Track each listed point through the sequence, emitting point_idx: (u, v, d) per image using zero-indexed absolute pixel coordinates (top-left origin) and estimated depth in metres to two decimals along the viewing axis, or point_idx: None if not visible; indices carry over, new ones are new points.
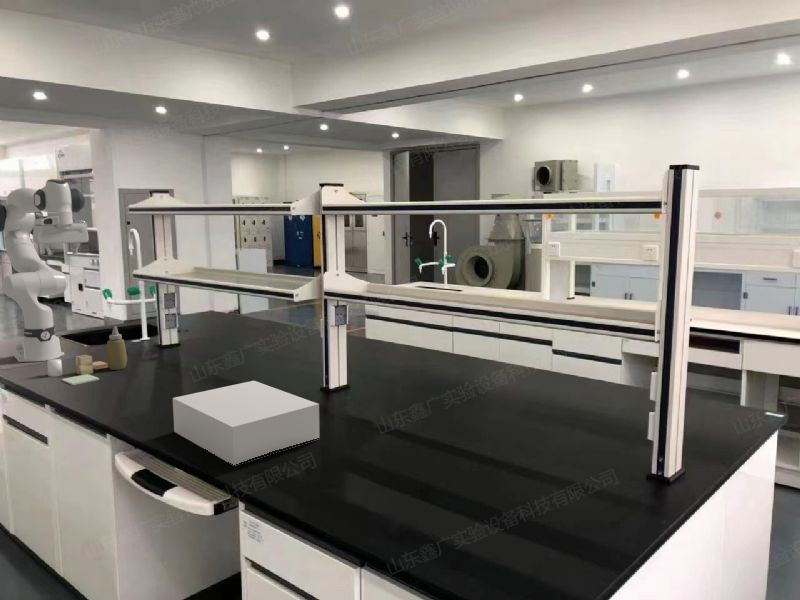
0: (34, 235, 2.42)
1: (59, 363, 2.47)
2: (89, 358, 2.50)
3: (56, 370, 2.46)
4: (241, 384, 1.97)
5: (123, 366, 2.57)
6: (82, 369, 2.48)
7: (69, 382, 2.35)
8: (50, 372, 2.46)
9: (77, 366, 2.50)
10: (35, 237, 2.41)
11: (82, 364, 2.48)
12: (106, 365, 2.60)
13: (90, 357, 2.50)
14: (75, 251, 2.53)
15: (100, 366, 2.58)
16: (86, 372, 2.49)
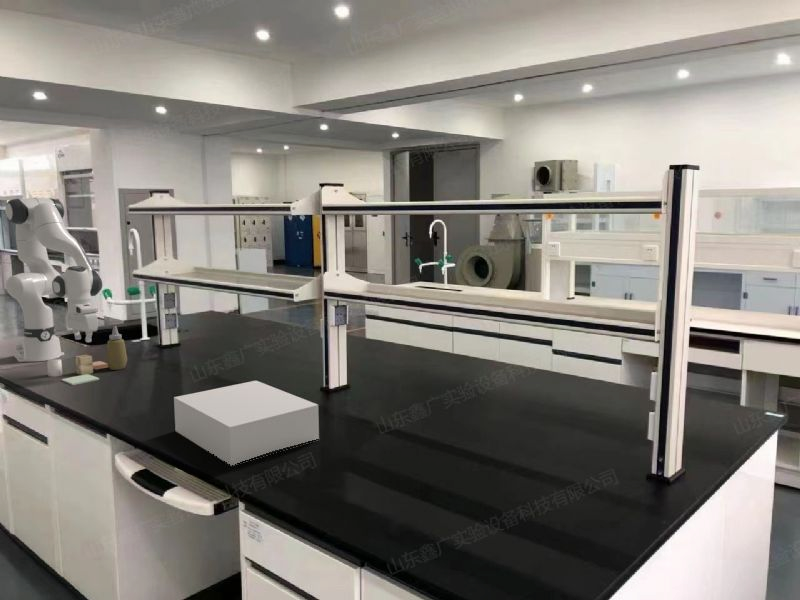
0: (91, 323, 2.41)
1: (59, 363, 2.47)
2: (89, 358, 2.50)
3: (56, 370, 2.46)
4: (243, 384, 1.97)
5: (123, 366, 2.57)
6: (82, 369, 2.48)
7: (69, 382, 2.35)
8: (50, 372, 2.46)
9: (77, 366, 2.50)
10: (94, 325, 2.42)
11: (82, 364, 2.48)
12: (106, 365, 2.60)
13: (90, 357, 2.50)
14: None
15: (100, 366, 2.58)
16: (86, 372, 2.49)
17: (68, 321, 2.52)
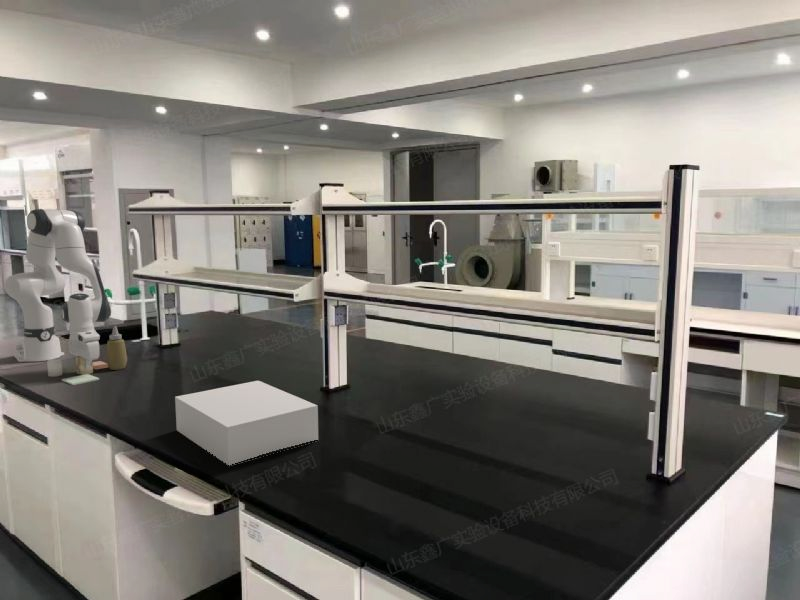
0: (93, 351, 2.43)
1: (59, 363, 2.47)
2: None
3: (56, 370, 2.46)
4: (245, 384, 1.97)
5: (123, 366, 2.57)
6: (82, 369, 2.48)
7: (69, 382, 2.35)
8: (50, 372, 2.46)
9: (77, 366, 2.50)
10: (96, 353, 2.44)
11: (82, 364, 2.48)
12: (106, 365, 2.60)
13: None
14: None
15: (100, 366, 2.58)
16: (86, 372, 2.49)
17: (70, 347, 2.54)
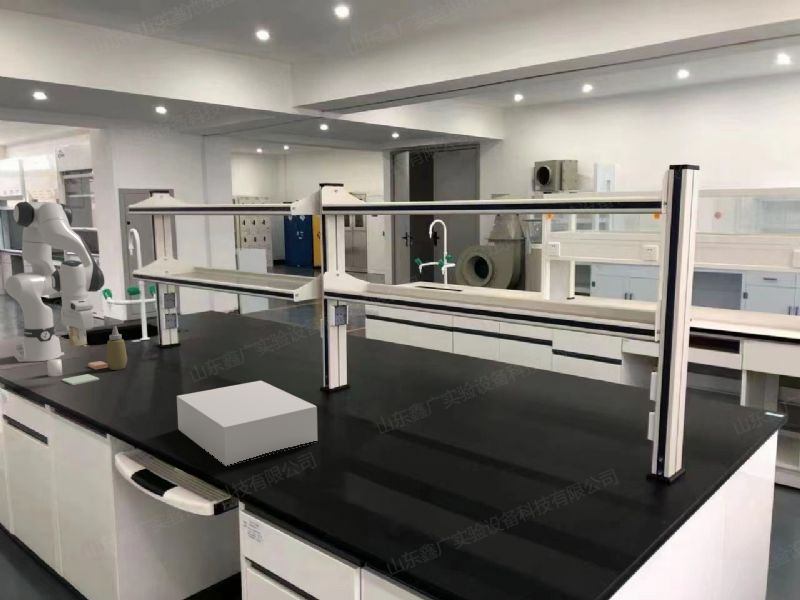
0: (86, 320, 2.30)
1: (59, 363, 2.47)
2: None
3: (56, 370, 2.46)
4: (247, 384, 1.97)
5: (123, 366, 2.57)
6: (75, 339, 2.35)
7: (69, 382, 2.35)
8: (50, 372, 2.46)
9: (70, 337, 2.37)
10: (90, 322, 2.31)
11: (75, 334, 2.35)
12: (106, 365, 2.60)
13: None
14: None
15: (100, 366, 2.58)
16: (79, 343, 2.37)
17: (62, 318, 2.41)
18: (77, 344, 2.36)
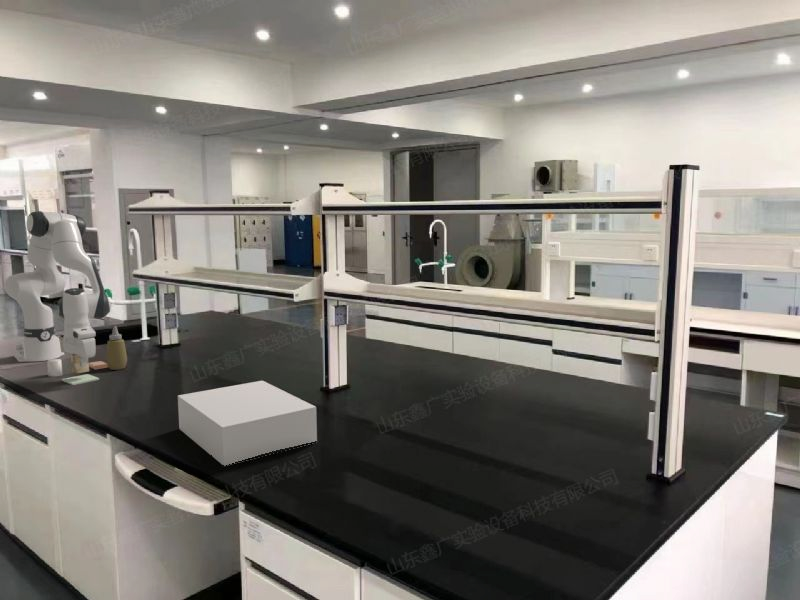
0: (89, 349, 2.32)
1: (59, 363, 2.47)
2: None
3: (56, 370, 2.46)
4: (248, 384, 1.97)
5: (123, 366, 2.57)
6: (78, 367, 2.37)
7: (69, 382, 2.35)
8: (50, 372, 2.46)
9: (73, 364, 2.38)
10: (92, 350, 2.33)
11: (77, 362, 2.36)
12: (106, 365, 2.60)
13: None
14: None
15: (100, 366, 2.58)
16: (82, 370, 2.38)
17: (64, 345, 2.42)
18: (79, 371, 2.37)
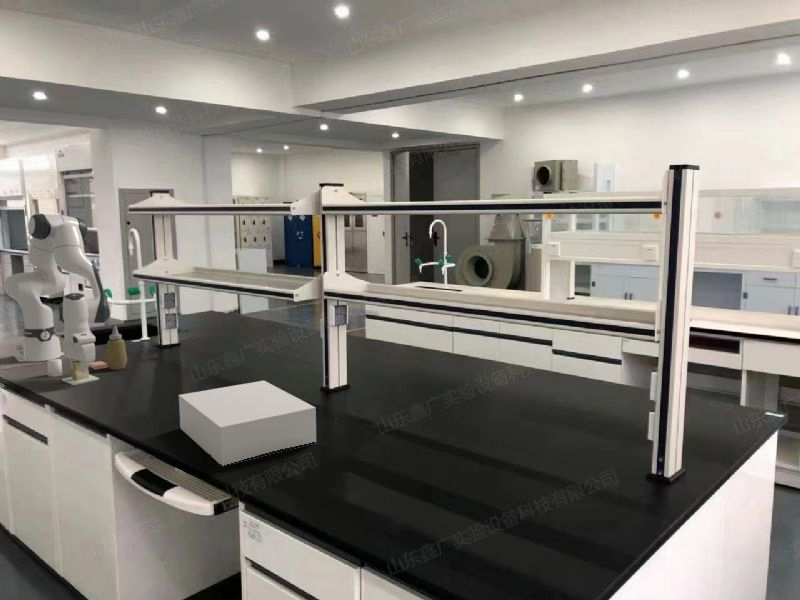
0: (88, 354, 2.32)
1: (59, 363, 2.47)
2: None
3: (56, 370, 2.46)
4: (250, 384, 1.98)
5: (123, 366, 2.57)
6: (78, 374, 2.37)
7: (69, 382, 2.35)
8: (50, 372, 2.46)
9: (73, 371, 2.39)
10: (92, 355, 2.33)
11: (77, 369, 2.37)
12: (106, 365, 2.60)
13: None
14: None
15: (100, 366, 2.58)
16: (82, 378, 2.39)
17: (64, 349, 2.42)
18: (79, 379, 2.38)
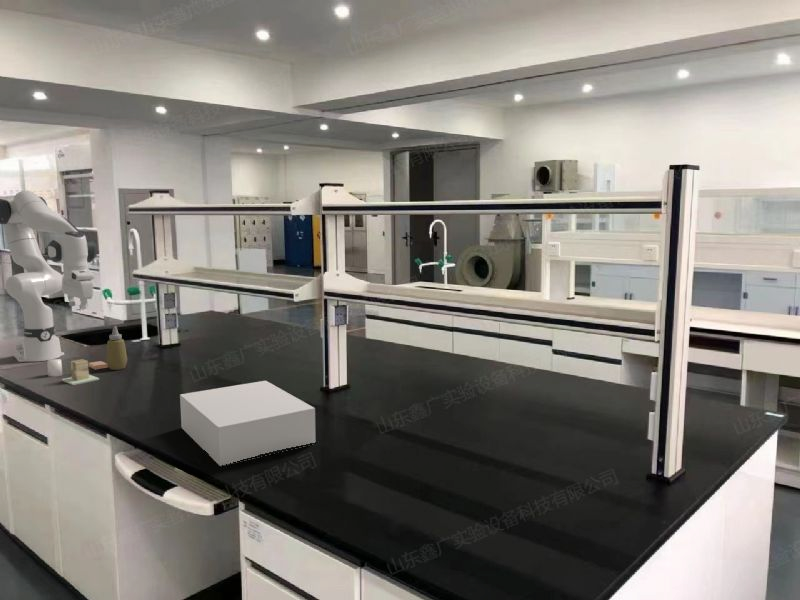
0: (86, 290, 2.37)
1: (59, 363, 2.47)
2: (85, 362, 2.39)
3: (56, 370, 2.46)
4: (251, 384, 1.98)
5: (123, 366, 2.57)
6: (78, 374, 2.37)
7: (69, 382, 2.35)
8: (50, 372, 2.46)
9: (73, 371, 2.39)
10: (89, 292, 2.38)
11: (77, 369, 2.37)
12: (106, 365, 2.60)
13: (86, 362, 2.39)
14: None
15: (100, 366, 2.58)
16: (82, 378, 2.39)
17: (63, 287, 2.48)
18: (79, 379, 2.38)
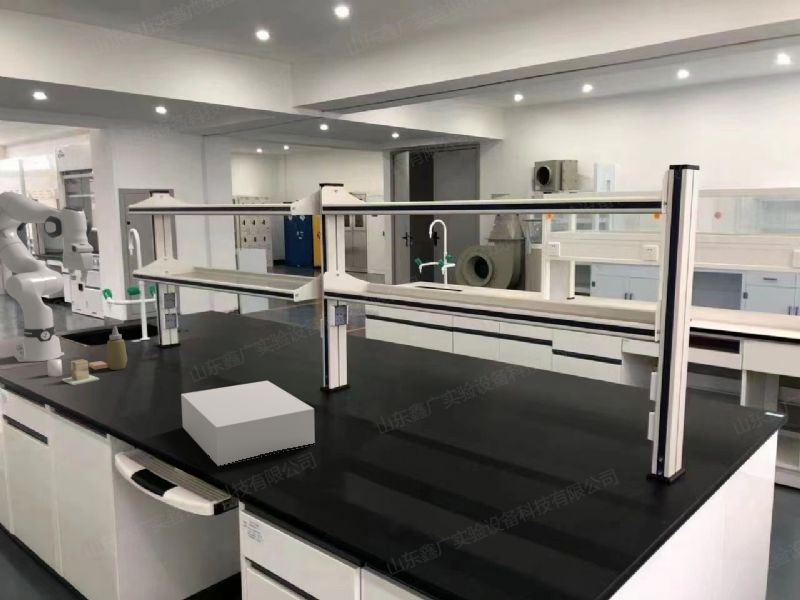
0: (87, 262, 2.45)
1: (59, 363, 2.47)
2: (85, 362, 2.39)
3: (56, 370, 2.46)
4: (253, 384, 1.98)
5: (123, 366, 2.57)
6: (78, 374, 2.37)
7: (69, 382, 2.35)
8: (50, 372, 2.46)
9: (73, 371, 2.39)
10: (90, 264, 2.46)
11: (77, 369, 2.37)
12: (106, 365, 2.60)
13: (86, 362, 2.39)
14: None
15: (99, 366, 2.58)
16: (82, 378, 2.39)
17: (64, 262, 2.55)
18: (79, 379, 2.38)
